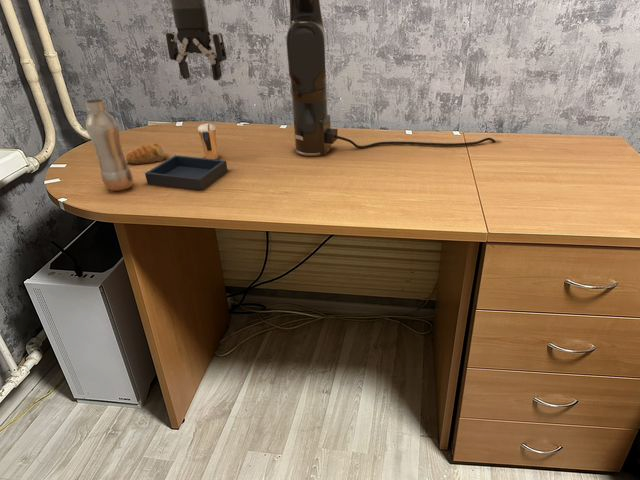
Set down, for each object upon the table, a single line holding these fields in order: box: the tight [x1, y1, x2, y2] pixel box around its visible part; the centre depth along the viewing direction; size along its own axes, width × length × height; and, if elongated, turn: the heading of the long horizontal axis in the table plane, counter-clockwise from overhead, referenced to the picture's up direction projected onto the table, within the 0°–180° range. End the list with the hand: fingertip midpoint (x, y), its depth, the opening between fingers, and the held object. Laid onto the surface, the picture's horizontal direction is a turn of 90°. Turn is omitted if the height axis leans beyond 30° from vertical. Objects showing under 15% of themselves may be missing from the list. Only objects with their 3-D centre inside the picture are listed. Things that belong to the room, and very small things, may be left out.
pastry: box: [125, 142, 166, 165], centre depth 128 cm, size 9×7×4 cm
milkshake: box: [197, 123, 219, 160], centre depth 127 cm, size 5×5×10 cm
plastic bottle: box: [85, 98, 134, 191], centre depth 108 cm, size 6×7×20 cm
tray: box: [144, 154, 229, 192], centre depth 118 cm, size 15×13×3 cm
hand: (201, 79), depth 120 cm, fingers open, 8 cm apart
